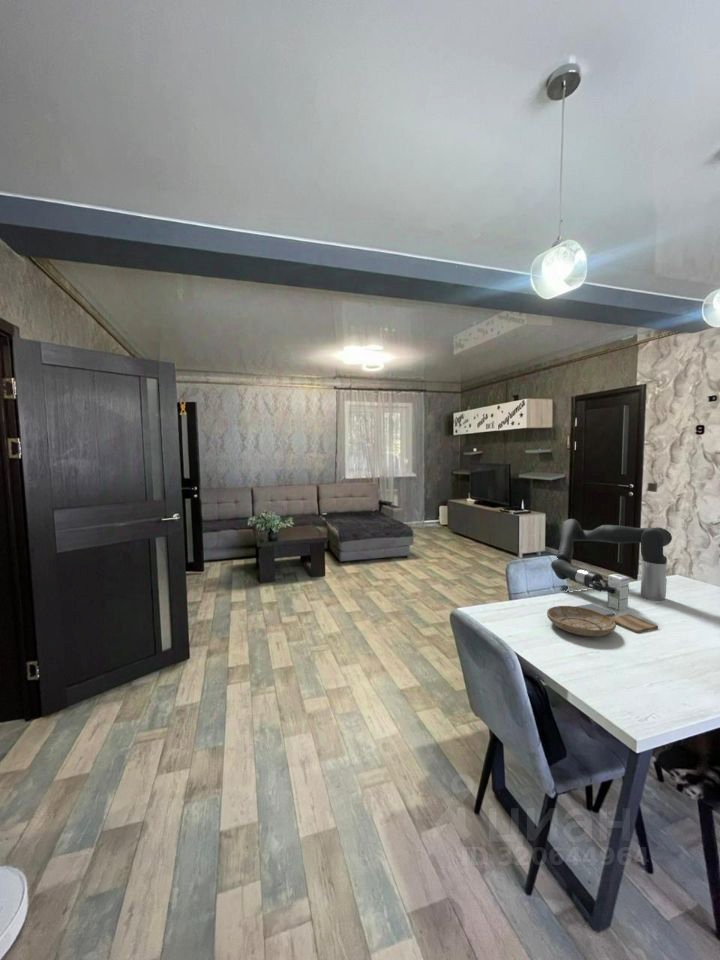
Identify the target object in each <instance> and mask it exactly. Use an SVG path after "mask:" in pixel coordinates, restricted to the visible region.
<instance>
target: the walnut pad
mask: <svg viewBox="0 0 720 960" xmlns="http://www.w3.org/2000/svg"><path fill="white" fill-rule="evenodd" d="M609 617H610V618H611V619H613V620H614V621H615V624H616V626H620V627H622V628H624V629H626V630H628V631H631V632H633V633H635V634H639V633H643V632H648V631H653V630H656V629H657V630H658V629H659V625H657V624H655V623H652V622H649V621H647V620H644V619H643V618H639V617H637V616H634V615H633V614H629V613H626V614H622V615H617V616H616V615H614V616H609Z"/></svg>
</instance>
